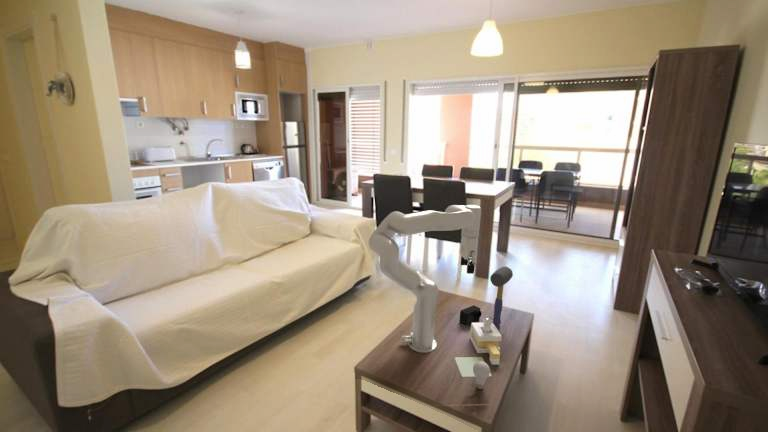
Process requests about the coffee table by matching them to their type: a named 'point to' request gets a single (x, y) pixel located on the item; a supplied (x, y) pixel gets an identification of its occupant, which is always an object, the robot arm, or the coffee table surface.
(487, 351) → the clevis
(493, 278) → the rubber mallet
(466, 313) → the digital camera
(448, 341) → the coffee table surface
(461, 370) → the pin mat
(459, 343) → the coffee table surface
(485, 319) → the steel pin
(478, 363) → the lightbulb
